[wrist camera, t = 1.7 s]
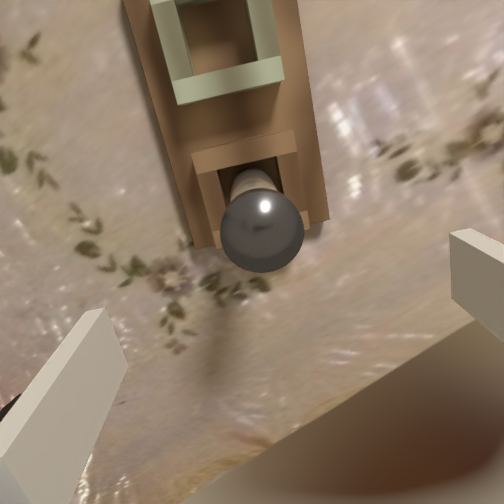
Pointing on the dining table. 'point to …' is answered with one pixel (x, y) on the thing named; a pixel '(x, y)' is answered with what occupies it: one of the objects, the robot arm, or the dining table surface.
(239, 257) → the lock pin
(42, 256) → the dining table surface
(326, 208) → the socket board
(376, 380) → the dining table surface
